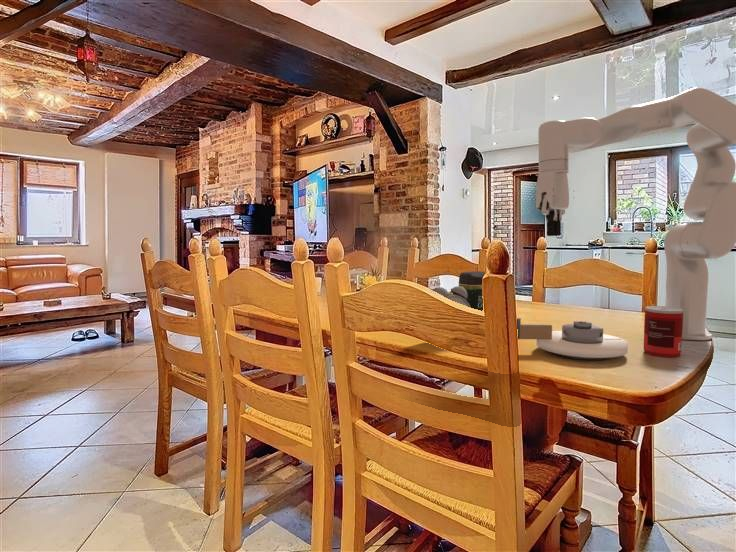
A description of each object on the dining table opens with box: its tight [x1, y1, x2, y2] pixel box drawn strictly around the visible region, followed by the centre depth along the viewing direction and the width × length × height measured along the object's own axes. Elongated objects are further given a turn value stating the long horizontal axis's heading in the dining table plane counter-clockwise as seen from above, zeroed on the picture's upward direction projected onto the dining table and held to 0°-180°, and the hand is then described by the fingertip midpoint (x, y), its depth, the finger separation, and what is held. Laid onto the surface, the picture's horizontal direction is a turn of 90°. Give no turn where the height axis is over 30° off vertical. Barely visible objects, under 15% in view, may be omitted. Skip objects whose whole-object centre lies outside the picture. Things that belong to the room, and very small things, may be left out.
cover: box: [561, 320, 604, 344], centre depth 109 cm, size 9×9×4 cm
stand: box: [550, 352, 613, 361], centre depth 110 cm, size 14×14×1 cm
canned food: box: [643, 305, 683, 358], centre depth 108 cm, size 8×8×11 cm
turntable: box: [516, 317, 629, 359], centre depth 110 cm, size 20×27×7 cm
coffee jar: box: [458, 270, 486, 311], centre depth 131 cm, size 10×8×19 cm
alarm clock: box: [432, 285, 470, 307], centre depth 124 cm, size 12×7×15 cm, turn 110°
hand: (553, 235), depth 124 cm, fingers closed
